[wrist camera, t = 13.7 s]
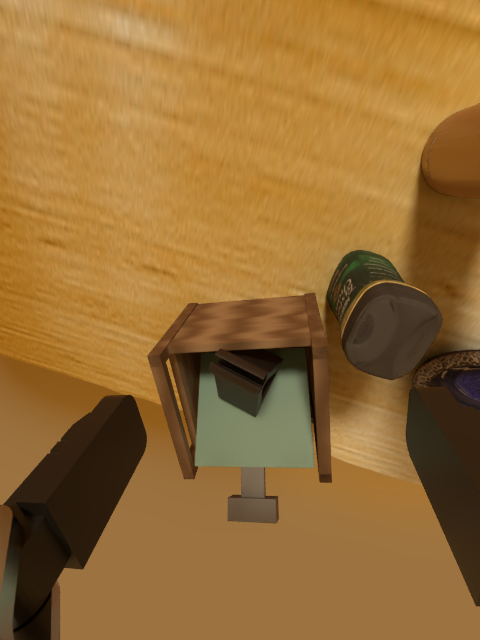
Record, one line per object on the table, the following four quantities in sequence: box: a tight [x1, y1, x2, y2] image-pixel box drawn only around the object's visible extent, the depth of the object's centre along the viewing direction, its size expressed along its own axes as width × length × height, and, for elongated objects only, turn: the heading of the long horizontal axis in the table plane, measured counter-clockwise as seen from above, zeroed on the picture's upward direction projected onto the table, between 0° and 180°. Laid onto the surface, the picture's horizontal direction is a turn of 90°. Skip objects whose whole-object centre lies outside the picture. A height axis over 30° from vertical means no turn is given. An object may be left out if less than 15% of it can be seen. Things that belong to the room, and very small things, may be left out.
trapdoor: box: [195, 348, 315, 523], centre depth 43 cm, size 16×22×3 cm
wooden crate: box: [148, 293, 332, 483], centre depth 45 cm, size 20×20×16 cm
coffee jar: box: [327, 250, 442, 380], centre depth 37 cm, size 10×8×19 cm
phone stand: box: [209, 348, 283, 417], centre depth 39 cm, size 9×6×12 cm
